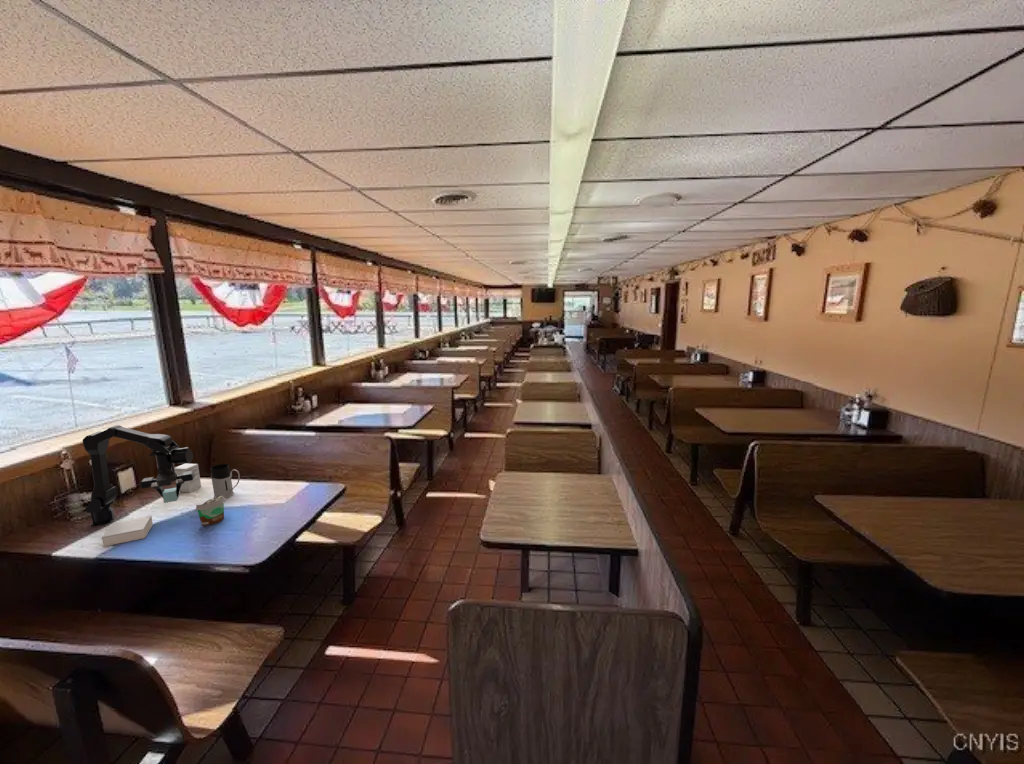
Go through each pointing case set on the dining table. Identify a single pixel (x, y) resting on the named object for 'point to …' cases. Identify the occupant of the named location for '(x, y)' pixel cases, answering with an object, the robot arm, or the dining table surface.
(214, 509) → the food container
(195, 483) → the supplement box
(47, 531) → the dining table surface
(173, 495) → the teal block
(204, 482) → the dining table surface
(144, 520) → the flat beige block
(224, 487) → the grey black mug
